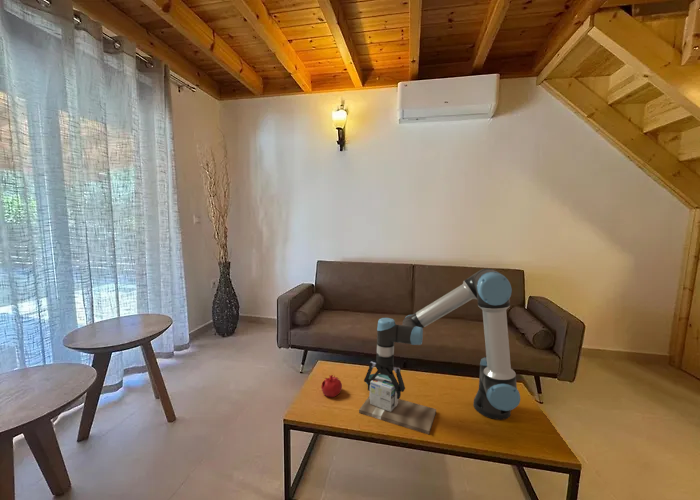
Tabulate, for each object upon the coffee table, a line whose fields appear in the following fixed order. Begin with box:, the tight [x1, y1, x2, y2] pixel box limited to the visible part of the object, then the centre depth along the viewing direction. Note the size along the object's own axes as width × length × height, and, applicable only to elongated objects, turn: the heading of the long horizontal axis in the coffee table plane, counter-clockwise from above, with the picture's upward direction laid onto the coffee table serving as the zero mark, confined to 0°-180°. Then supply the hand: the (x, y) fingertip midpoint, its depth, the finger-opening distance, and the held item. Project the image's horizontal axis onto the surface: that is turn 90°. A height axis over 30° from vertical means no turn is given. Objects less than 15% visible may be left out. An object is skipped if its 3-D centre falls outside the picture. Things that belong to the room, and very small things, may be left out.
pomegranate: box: [321, 374, 343, 398], centre depth 148 cm, size 10×10×9 cm
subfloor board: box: [358, 396, 437, 436], centre depth 134 cm, size 30×16×2 cm, turn 65°
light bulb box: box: [369, 376, 396, 412], centre depth 137 cm, size 11×7×11 cm, turn 57°
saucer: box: [365, 373, 391, 386], centre depth 157 cm, size 15×15×3 cm
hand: (383, 401), depth 137 cm, fingers closed on light bulb box, 11 cm apart
